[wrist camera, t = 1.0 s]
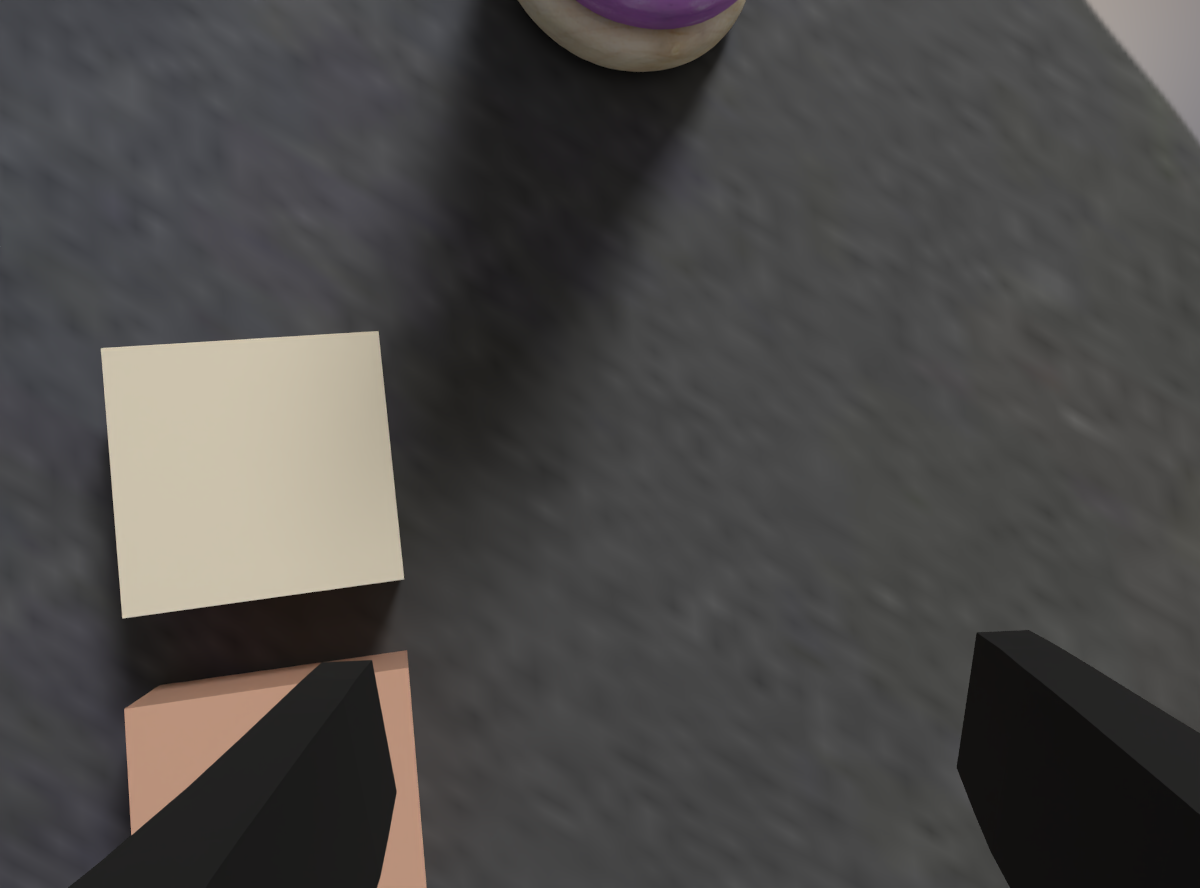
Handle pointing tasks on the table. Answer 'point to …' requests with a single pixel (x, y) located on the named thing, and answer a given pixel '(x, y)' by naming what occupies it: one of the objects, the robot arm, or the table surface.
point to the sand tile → (249, 470)
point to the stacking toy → (635, 29)
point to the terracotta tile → (229, 710)
